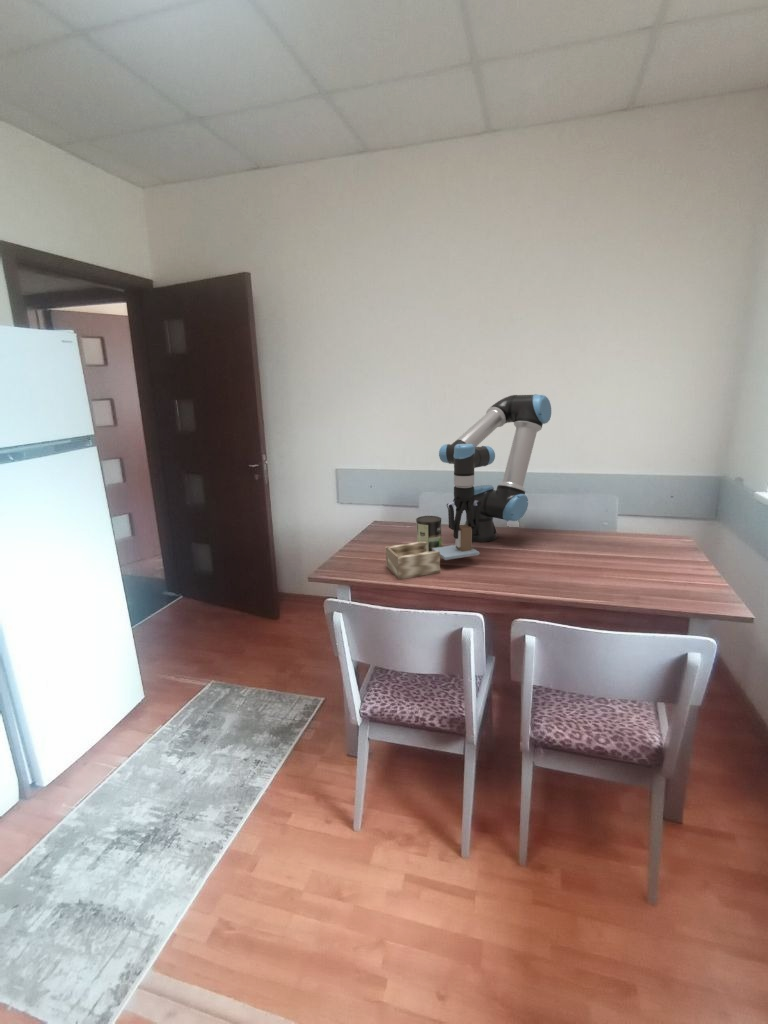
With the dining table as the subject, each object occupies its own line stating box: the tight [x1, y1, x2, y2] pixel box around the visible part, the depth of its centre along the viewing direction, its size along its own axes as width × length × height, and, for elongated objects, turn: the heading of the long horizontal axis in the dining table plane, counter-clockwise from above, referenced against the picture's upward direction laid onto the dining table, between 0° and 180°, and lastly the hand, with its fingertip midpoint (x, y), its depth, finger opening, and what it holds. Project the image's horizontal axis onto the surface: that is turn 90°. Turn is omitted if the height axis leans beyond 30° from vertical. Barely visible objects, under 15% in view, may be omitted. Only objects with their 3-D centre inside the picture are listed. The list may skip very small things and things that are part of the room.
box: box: [385, 541, 441, 580], centre depth 179 cm, size 16×14×8 cm
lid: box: [432, 523, 481, 561], centre depth 184 cm, size 14×12×10 cm
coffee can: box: [415, 515, 442, 552], centre depth 198 cm, size 10×10×14 cm
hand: (463, 545), depth 185 cm, fingers closed on lid, 4 cm apart
